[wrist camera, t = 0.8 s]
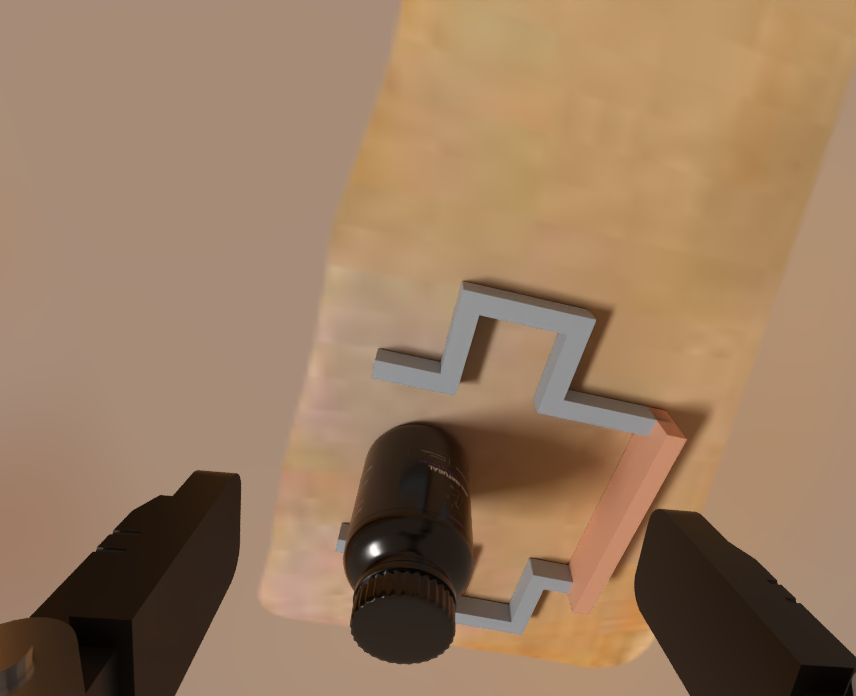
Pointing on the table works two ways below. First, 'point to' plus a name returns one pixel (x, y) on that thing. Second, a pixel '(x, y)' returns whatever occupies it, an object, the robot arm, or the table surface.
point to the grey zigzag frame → (641, 459)
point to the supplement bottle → (409, 545)
